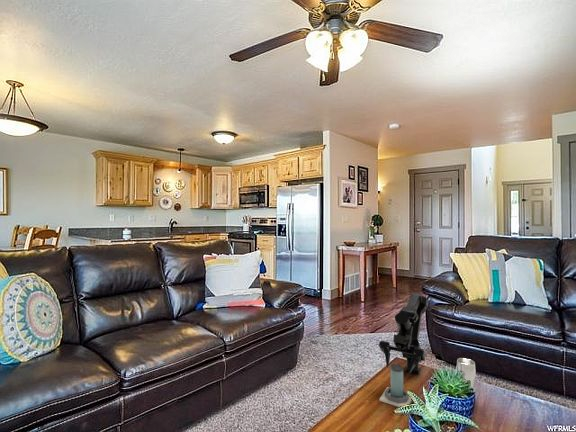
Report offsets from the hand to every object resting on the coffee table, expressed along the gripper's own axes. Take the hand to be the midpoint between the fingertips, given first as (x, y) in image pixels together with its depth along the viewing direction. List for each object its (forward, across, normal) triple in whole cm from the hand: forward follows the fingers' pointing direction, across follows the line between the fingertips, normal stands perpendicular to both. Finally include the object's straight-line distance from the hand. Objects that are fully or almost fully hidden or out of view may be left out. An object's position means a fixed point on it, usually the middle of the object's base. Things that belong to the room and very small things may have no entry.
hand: (398, 369), depth 137 cm
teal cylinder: (+9, 0, +6) cm, 11 cm away
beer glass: (-2, +24, +19) cm, 30 cm away
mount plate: (+10, 0, +6) cm, 11 cm away
